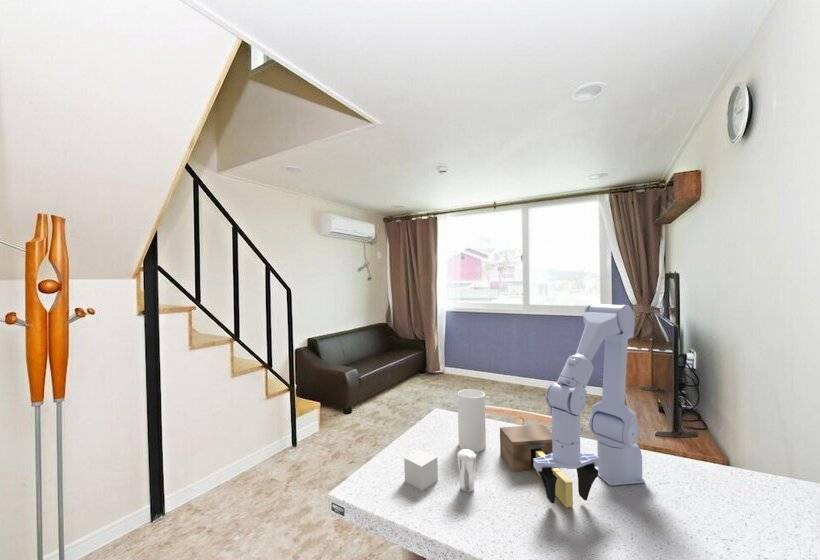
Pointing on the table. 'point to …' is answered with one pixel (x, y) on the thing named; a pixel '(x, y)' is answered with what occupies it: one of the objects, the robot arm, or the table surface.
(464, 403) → the cup
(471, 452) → the milkshake
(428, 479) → the white cube
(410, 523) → the table surface
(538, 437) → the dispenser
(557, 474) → the ticket
